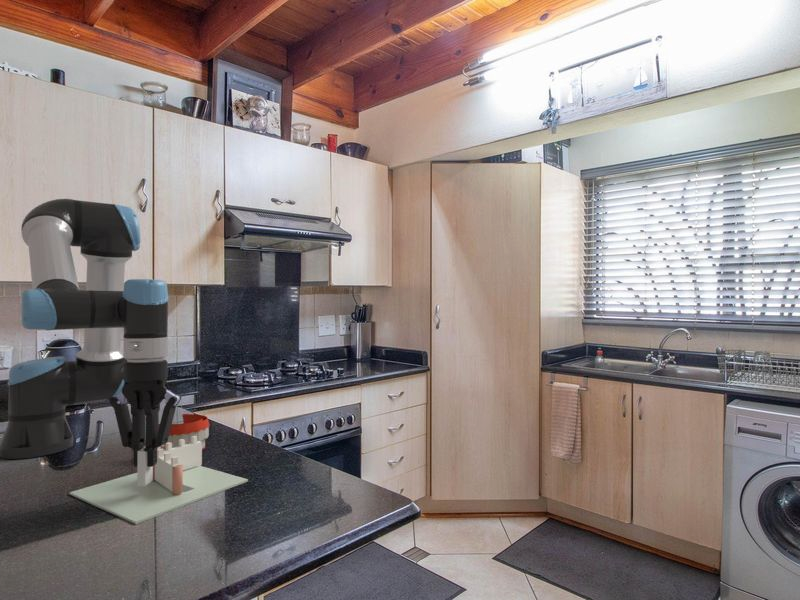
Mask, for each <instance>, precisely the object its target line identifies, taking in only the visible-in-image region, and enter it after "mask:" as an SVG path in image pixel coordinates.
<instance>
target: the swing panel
mask: <svg viewBox="0 0 800 600" xmlns="http://www.w3.org/2000/svg"><path fill="white" fill-rule="evenodd" d="M155 480H156V481H157V482H159V483H160V484H161V485H163V486H164V487H166V488H167V489H169V490H170V491H171V492H172V494H180V493H182V492H183V465H179V464H178V457H177V456H175V457H171V453H170V452H168V453H164V449H158V450H157V463H156V465H155Z"/></svg>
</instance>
